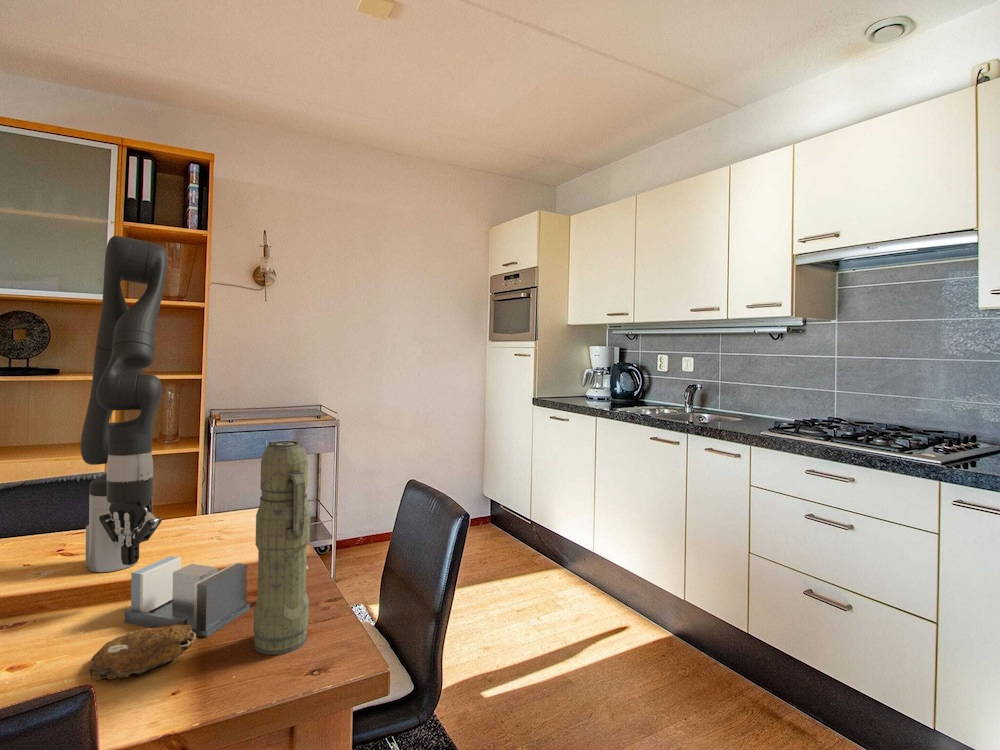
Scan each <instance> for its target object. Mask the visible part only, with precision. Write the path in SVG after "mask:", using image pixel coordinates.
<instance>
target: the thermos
mask: <svg viewBox="0 0 1000 750" xmlns="http://www.w3.org/2000/svg"><path fill="white" fill-rule="evenodd" d="M307 455H308V454H307V452H306V448H305V445H304V444H303V443H300V442H299V441H293V440H292V441H291V440H283V441H273V442H270V444H267V445H266V446H265V448H264V452H263V454H262V458H261V460H260V490H261V496H260V497H259V499H260V500H259V505H258V506H259V507H258V509H257V511H256V513H255V514H256V515H255V547H256V549H257V550H258V552H257V557H258V558H257V560H258V561H257V564H258V565H257V599H256V602H255V605H254V608H253V634H254V644H253V645H254V646H253V647H254V649H255V650H256V651H257V652H258V653H260V654H263V655H268V656H269V655H273V656H276V655H284V654H287V653H290V652H293V651H296V650H297V649H299V648H301V647H302V646H304V645H305V643H306V642H307V640H308V626H309V622H310V621H309V619H310V618H309V616H310V615H309V613H310V611H309V609H310V600H309V597H308V595H307V571H306V564H308V563H307V557H308V556H307V554H308V544H309V543H310V539H311V507H310V505H309V503H308V493H307V488H308V476H309V475H308V470H309V466H308V465H309V458H308V456H307Z"/></svg>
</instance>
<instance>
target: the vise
mask: <svg viewBox="0 0 1000 750" xmlns="http://www.w3.org/2000/svg"><path fill="white" fill-rule="evenodd" d="M247 575H248V564H247V563H240V562H234V563H232V564H231V565H229V566H226V567H224V568H223V569H221V570H218V572H217V573H215V574H213V575H211V576H209V577H207V578H205V579H203V580H201V581H199V582H197V583H195V584H194V618H190V617H184V616H178V615H172V601H173V599H172V600H170V601H168V602H166V603H164V604H163V605H161V606H159V607H157V608H155V609H153V610H151V611H149V612H143V611H137V610H131V608H128V609H125V610H124V613H123V615H124V616H123V618H124V619H123V623H124V624H127V625H129V624H130V625H133V626H134V625H135V626H139V627H145V626H146V627H147V628H151V627H152V628H156V627H159V626H163V625H166V624H173V623H185V624H188V625H191V628H192V631H193V632H194V633H196V637H202V636H204V637H203V638H208V637H210V636H211V635H213V634H215V633H216V632H217V630H218V631H219V630H221V629H222V628H224V627H225V626H226V625H229V623H231V622H233V621H234V620H236V619H237V618H239V617H240V616H242V615H243V614H245V613H246V612H248V611H249V610H251V603H247V582H248V581H247V579H248V576H247ZM146 627H145V628H146ZM214 632H215V633H214Z"/></svg>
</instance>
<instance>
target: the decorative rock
mask: <svg viewBox="0 0 1000 750" xmlns="http://www.w3.org/2000/svg"><path fill="white" fill-rule="evenodd" d="M197 639H198V638H197V636H196V633H194V632H193V631H192V628H191V625H188V624H185V623H173V624H166V625H163V626H159V627H156V628H151V627H147V628H146V627H145V628H144V629H138V630H134V631H133V632H129V633H126V634H125V635H121V636H118V637H116V638H114V639H112V640H110V641H107V642H106V643H104V644H103V646H102V647H101V648H100V649H98V651H97V652H96V653H94V654H93V656H92V657H91V658H90V661H91V662H92V664H91V665H90V666H89V670H88V672H89V676H90V677H89V678H90V679H92V677H93V678H95V680H96V681H100V680H101V679H102V678H103V679H108V680H109V679H110V680H112V679H115V678H117V677H123V678H124V677H126V678H129V675H131V673H132V674H136V675H138V676H139V675H141V674H143V673H146V672H147V671H149V670H152V669H155V668H156V667H158V666H163V665H165V664H166V663H167V662H170V661H172V660H174V659H176V658H177V656H179V655H180V654H181V653H182V652H183V650H186V649H188V648H189V647H191V646H192V645H193V644H195V640H197ZM187 647H188V648H187ZM111 678H112V679H111ZM103 679H102V680H103Z"/></svg>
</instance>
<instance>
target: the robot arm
mask: <svg viewBox="0 0 1000 750" xmlns="http://www.w3.org/2000/svg"><path fill="white" fill-rule="evenodd" d="M106 244H107V245H106V248H105V254H104V255H105V258H104V268H103V269H104V271H103V272H104V273H103V285H102V286H103V287H102V289H103V290H102V303H101V311H100V312H101V313H100V319H99V325H98V330H97V337H96V342H95V348H94V357H93V358H94V359H93V370H92V380H91V389H90V395H89V401H88V405H87V410H86V413H85V417H84V418H85V419H84V422H83V427H82V431H81V437H80V454H81V458H82V460H83V461H84V463H85V464H87V465H91V466H95V465H104V464H105V465H106V472H105V473H103V474H101V475H100V476H98V477H96V478H94V479H92V480H91V482H90V483H89V492H88V493H89V495H88V496H89V499H88V501H89V502H88V504H89V505H88V506H89V509H88V511H89V515H88V519H89V520H88V521H89V522H88V525H86V526H85V568H88V570H89V571H91V572H96V573H106V572H107V573H110V572H115V571H120V570H121V571H122V570H124V569H127V568H130V567H132V566H134V565H135V564H136V563H138V561H140V560H139V559H140V544H141V543H143V542H147V541H149V540H150V538H151V537H152V536H153V534H154V533H155V531H156V530H157V529H158V527H159V526H160V525H161V523H162V521H163V520H162V518H161V516H157V517H155V515H154V514H153V513H152V512H153V511H152V506H151V504H150V501H151V499H152V498H153V496H154V460H153V453H152V451H153V449H152V447H153V446H152V445H153V444H152V443H153V442H152V441H153V439H152V437H153V426H154V420H155V417H156V413H157V410H158V407H159V405H160V402H161V400H162V395H163V384H162V382H161V380H160V379H159V378H158V376H157V375H155V374H151V373H150V374H149V373H143V371H144V369H146V368H148V367H150V366H151V365H152V364H153V361H154V357H155V342H156V341H155V339H156V338H155V337H156V325H157V321H158V316H159V312H160V308H161V304H162V299H163V294H164V288H165V283H166V278H167V271H168V262H169V261H168V252H167V250H166V248H165V247H164V246H163V245H161V244H158V243H154V242H150V241H145V240H141V239H135V238H132V237H131V238H130V237H125V236H121V235H113V236H112V237H110V239H109V240H108V242H107V243H106ZM122 281H124V282H132V283H137V284H143V285H147V286H146V288H145V291H144V293H143V294H142V296H140V297H139V299H138V300H137V301H135V302H134V303H133V305H131V306H130V307H129V305H128V303H127V302H126V299H125V297H124V294H123V290H122ZM137 410H139V411H140V413H139V415H138V416H137V417H136V418H134V419H130V420H127V421H117V422H116V421H115V422H110V421H111V418H112V414H113V412H114V411H137Z"/></svg>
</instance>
